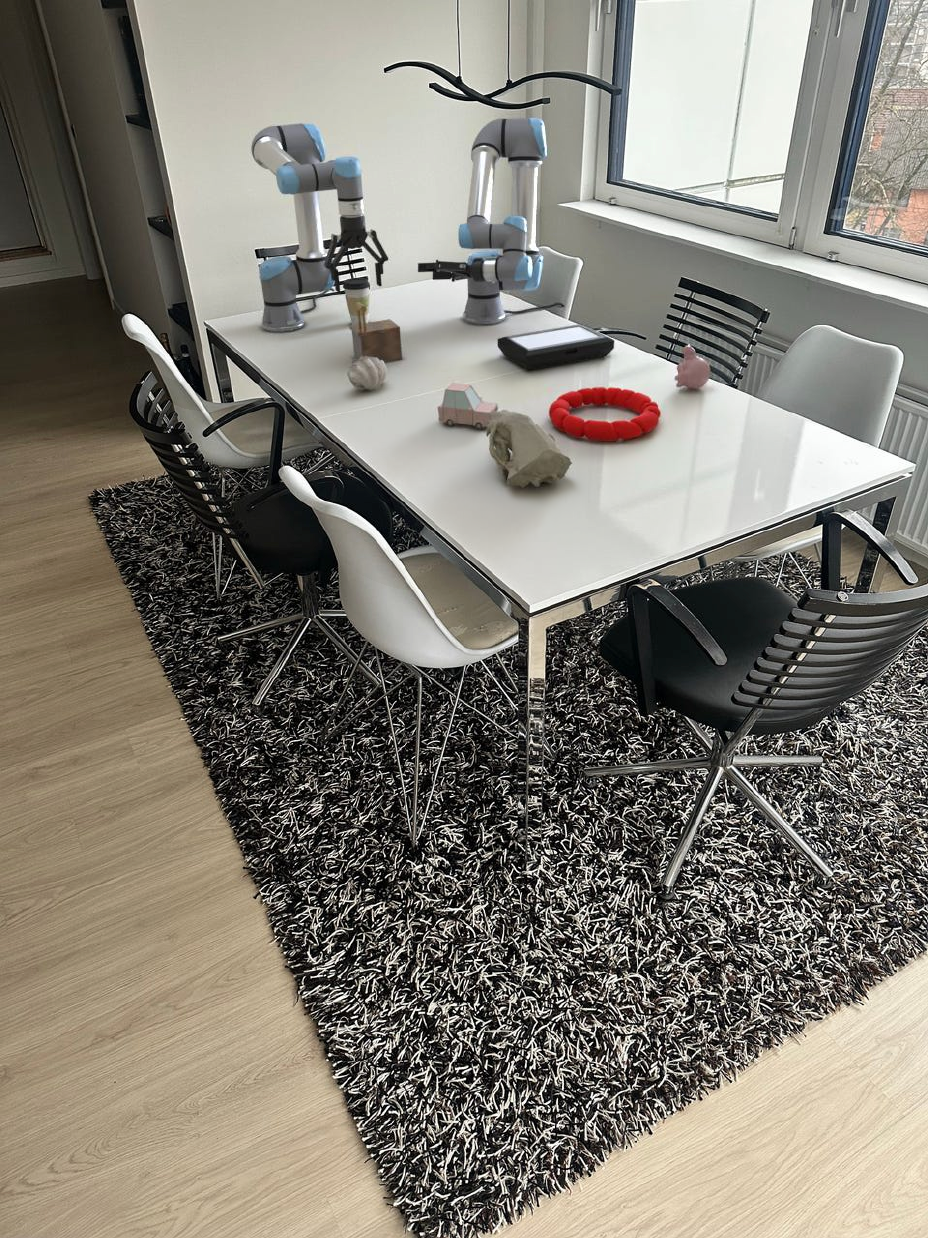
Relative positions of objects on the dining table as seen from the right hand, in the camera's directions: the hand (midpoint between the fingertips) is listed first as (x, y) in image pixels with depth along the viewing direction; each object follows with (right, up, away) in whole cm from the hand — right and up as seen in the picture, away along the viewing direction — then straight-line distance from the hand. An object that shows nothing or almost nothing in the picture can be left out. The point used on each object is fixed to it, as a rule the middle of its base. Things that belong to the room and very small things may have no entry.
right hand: (425, 271), depth 301 cm
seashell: (-16, -48, -31) cm, 60 cm away
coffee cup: (-25, -9, +26) cm, 37 cm away
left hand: (-20, -14, -22) cm, 33 cm away
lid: (-16, -24, -13) cm, 32 cm away
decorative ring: (+51, -64, -58) cm, 100 cm away
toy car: (+14, -64, -56) cm, 86 cm away
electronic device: (+43, -32, -11) cm, 55 cm away
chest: (-15, -32, -8) cm, 36 cm away
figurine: (+80, -50, -39) cm, 102 cm away
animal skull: (+27, -81, -81) cm, 118 cm away
